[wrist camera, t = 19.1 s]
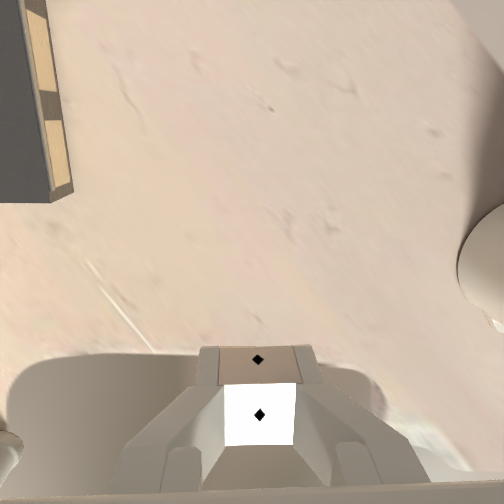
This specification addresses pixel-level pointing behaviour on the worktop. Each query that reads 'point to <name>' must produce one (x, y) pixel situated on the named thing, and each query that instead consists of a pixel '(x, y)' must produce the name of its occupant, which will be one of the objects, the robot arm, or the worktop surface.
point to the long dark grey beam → (30, 109)
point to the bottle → (9, 453)
